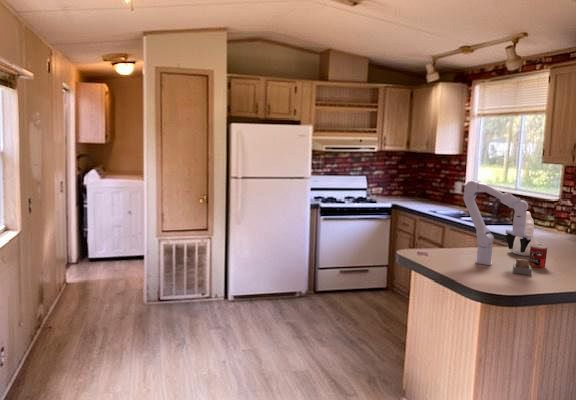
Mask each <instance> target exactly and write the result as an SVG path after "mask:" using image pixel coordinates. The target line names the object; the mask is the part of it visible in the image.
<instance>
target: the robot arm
mask: <svg viewBox="0 0 576 400" xmlns="http://www.w3.org/2000/svg"><path fill="white" fill-rule="evenodd" d="M463 188H464V191H463V202H464V204H465V206H466V209H467V212H468V214H469V216H470V219H471V221H472V223H473V226H474V228H475V230H476V232H475V233H476V234H475V235H476V238H477V239H476V243H477V251H476V258H475V262H474V263H475V264H480V265H487V266H492V265H493V263H492V254H493V245H492V244H493V243H494V242H495V237H494V234H492V233H491V232H490V229H489V228H488V227H487V226H486V224H485V221H484V219H483V216H482V214H481V212H480V209H479V207H478V205H477V202H476V197H477V195H478V194H479V193H487V194H489V195H491V196H493V197H495V198H497V199H499V200H500V203H501V204H503V205H505V206H507V207H509V208H510V209H513V210H514V214H513V221H512V230H511V229H507V230H506V229H505V235H504V237H505V239H506V241H507V247H508V250H509V249H513V244H514V240H515V237H516V236H517V237H521V238H522V239H520V244H521V248H520V252H521V253H523V252H525V250H526V247H527V245H528V244H529V242H530V241H531V235H528V234H525V225H526V214H527V210H528V209H529V203H528V202H527V201H526V200H525V199H521V198H520V197H516V196H515V195H513V193H512V192H504V193H503V192H502V191H499V190H498V189H496V188H494V187H493V186H491V185H489V184H488V183H486V182H482V181H481V180H478V179H476V180H470V181H468V182H467V183H465V185H464V187H463Z"/></svg>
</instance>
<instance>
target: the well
mask: <svg viewBox="0 0 576 400" xmlns="http://www.w3.org/2000/svg"><path fill="white" fill-rule="evenodd" d="M532 271H533V270H532V267H531V266H529V264H528V268H520V267H516V263H512V274H514V275H524V276H529V277H531V276H532Z"/></svg>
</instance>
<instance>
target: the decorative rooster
mask: <svg viewBox="0 0 576 400" xmlns="http://www.w3.org/2000/svg"><path fill="white" fill-rule="evenodd" d="M526 211H527V210H526ZM534 221H535V220H534V219H533V218H532V214H531V212H530V211H527V214H526V225H525V234H528V235H531V241H530V242H529V244H528V245H527V247H526V250H525V252H523V253H521V252H520V248H521V244H520V239H522V238H521V237H517V236H516V237H515V240H514V244H513V249H509V248H508V250H509V251H511V253H513V254H515V255H518V256H521V257H522V256H523V257H524V256H527V257H528V256H529V255H530V247H531V245H534V244H535V245H539V243H538V241H537V239H536V238H535V237H534V231H535V230H534V229H535V222H534Z"/></svg>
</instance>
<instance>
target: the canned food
mask: <svg viewBox="0 0 576 400" xmlns="http://www.w3.org/2000/svg"><path fill="white" fill-rule="evenodd" d="M547 253H548V247H547V245H541V244H538V245H535V244H534V245H531V247H530V255H529V258H528V261H529V263H528V265H529V266H531V268H535V269H545V267H546V262H547V256H548V255H547Z"/></svg>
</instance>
